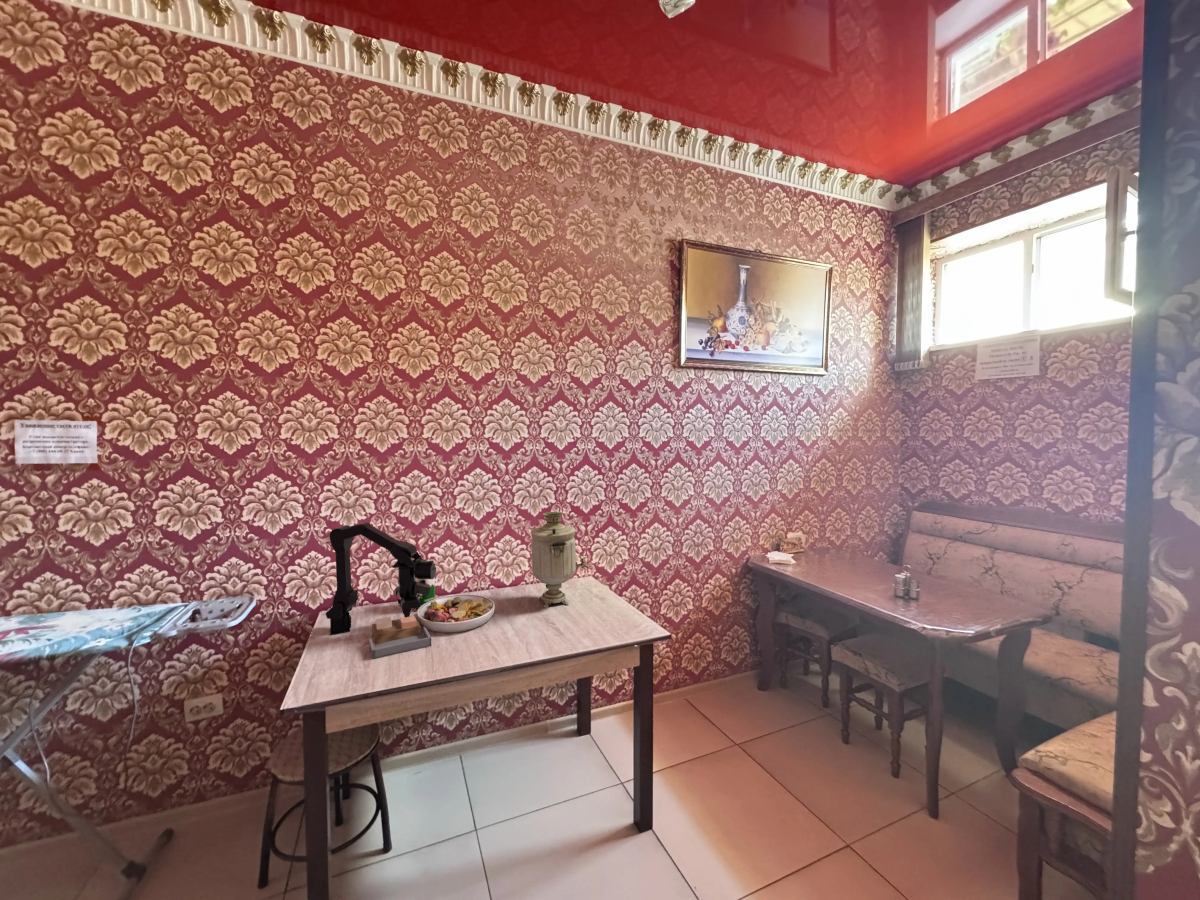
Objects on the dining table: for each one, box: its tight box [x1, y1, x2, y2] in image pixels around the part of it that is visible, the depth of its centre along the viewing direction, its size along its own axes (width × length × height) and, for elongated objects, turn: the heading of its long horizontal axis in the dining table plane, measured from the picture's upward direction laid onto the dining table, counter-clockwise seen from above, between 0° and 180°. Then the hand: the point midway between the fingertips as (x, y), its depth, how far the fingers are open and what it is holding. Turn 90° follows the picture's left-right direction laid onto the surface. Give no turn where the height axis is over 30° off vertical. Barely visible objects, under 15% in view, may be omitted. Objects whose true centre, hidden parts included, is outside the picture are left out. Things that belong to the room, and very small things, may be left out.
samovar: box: [530, 511, 591, 609], centre depth 207 cm, size 30×26×40 cm
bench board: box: [371, 615, 421, 645], centre depth 174 cm, size 15×10×4 cm, turn 122°
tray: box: [368, 627, 432, 660], centre depth 165 cm, size 19×10×3 cm, turn 122°
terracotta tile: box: [399, 615, 418, 629], centre depth 174 cm, size 5×5×2 cm
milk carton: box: [413, 558, 438, 611], centre depth 200 cm, size 9×9×20 cm
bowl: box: [416, 593, 496, 633], centre depth 189 cm, size 30×30×8 cm
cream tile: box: [374, 616, 392, 630], centre depth 173 cm, size 5×5×2 cm
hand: (407, 618), depth 177 cm, fingers closed
